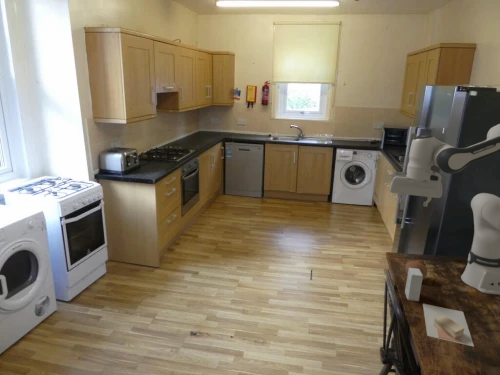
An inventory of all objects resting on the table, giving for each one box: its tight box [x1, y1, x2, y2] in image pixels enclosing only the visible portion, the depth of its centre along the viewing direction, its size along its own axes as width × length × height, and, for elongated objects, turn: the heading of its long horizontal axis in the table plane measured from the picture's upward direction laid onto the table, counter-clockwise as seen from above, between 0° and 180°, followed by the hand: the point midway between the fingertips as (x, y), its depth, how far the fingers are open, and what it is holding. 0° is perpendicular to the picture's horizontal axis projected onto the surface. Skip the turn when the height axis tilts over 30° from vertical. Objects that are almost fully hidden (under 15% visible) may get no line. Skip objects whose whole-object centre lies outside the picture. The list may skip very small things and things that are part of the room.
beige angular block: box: [434, 315, 464, 339], centre depth 124 cm, size 8×4×3 cm, turn 26°
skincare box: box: [404, 268, 423, 302], centre depth 143 cm, size 6×4×12 cm
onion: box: [403, 259, 428, 282], centre depth 157 cm, size 10×9×10 cm
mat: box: [422, 303, 475, 347], centre depth 128 cm, size 14×20×1 cm
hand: (413, 204), depth 152 cm, fingers open, 8 cm apart
